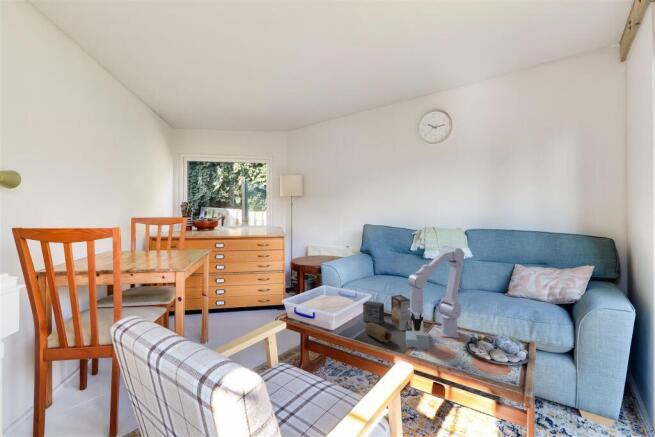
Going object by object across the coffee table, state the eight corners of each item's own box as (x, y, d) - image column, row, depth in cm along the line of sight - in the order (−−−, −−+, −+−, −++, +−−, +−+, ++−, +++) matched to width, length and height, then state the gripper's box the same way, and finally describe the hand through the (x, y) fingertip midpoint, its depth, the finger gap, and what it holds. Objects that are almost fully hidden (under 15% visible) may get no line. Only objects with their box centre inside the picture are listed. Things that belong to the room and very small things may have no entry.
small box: (384, 321, 173) (384, 302, 173) (380, 325, 168) (380, 306, 167) (367, 317, 179) (367, 300, 179) (363, 321, 174) (362, 303, 173)
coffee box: (391, 324, 168) (390, 296, 167) (400, 322, 170) (400, 294, 170) (400, 331, 159) (400, 300, 159) (411, 328, 162) (410, 299, 161)
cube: (412, 328, 148) (411, 318, 148) (422, 329, 147) (422, 319, 147) (412, 333, 143) (412, 322, 143) (423, 334, 142) (423, 323, 142)
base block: (405, 338, 151) (405, 330, 151) (426, 339, 149) (426, 331, 149) (406, 348, 142) (406, 339, 141) (429, 349, 140) (429, 340, 139)
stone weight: (394, 341, 148) (394, 328, 147) (383, 345, 144) (383, 331, 144) (373, 331, 160) (373, 318, 160) (363, 334, 156) (362, 322, 156)
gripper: (407, 295, 152) (408, 321, 153) (407, 304, 138) (408, 333, 139) (422, 295, 151) (422, 322, 151) (424, 305, 137) (424, 335, 137)
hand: (416, 328), depth 145 cm, fingers closed on cube, 5 cm apart
